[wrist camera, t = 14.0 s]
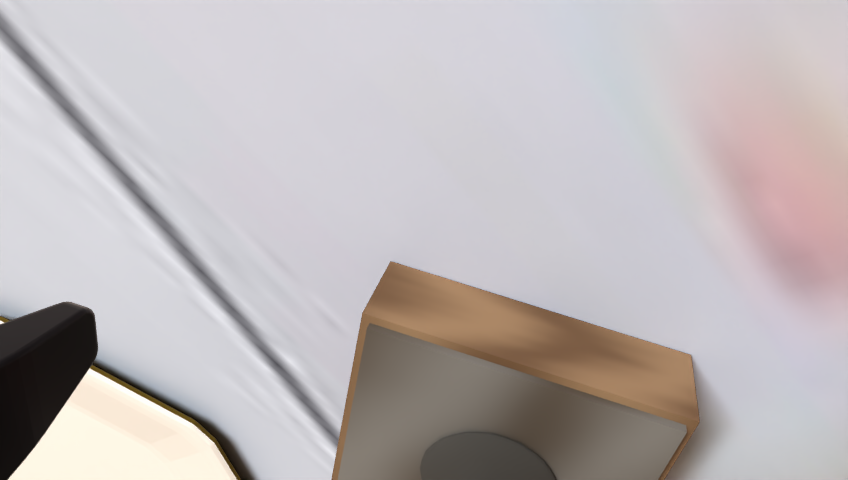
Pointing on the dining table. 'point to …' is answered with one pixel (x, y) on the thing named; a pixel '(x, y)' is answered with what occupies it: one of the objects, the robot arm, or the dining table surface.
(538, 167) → the dining table surface
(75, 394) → the plate
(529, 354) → the block
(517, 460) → the sundae
